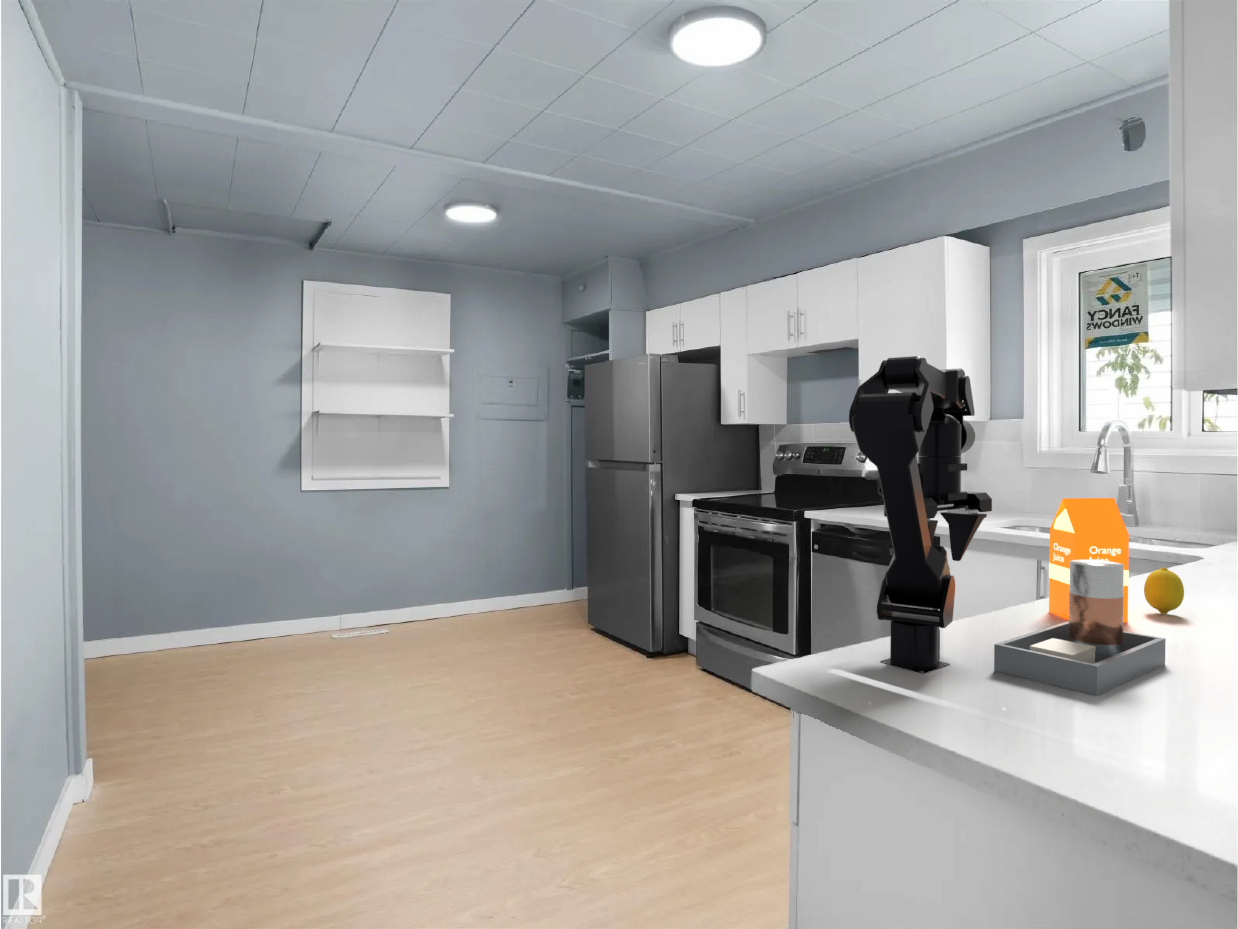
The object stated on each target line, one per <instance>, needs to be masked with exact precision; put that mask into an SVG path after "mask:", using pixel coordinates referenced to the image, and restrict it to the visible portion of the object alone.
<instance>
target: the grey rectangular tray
mask: <svg viewBox="0 0 1238 929" xmlns="http://www.w3.org/2000/svg"><path fill="white" fill-rule="evenodd" d="M1052 638H1055V639H1060V640H1065V641H1069V620H1067V621H1064V622H1060V623H1058V624H1055V625H1051V626H1048V627H1045V628H1041V629H1038V630H1035V631H1032V632H1029V633H1026V634H1023V635H1019V636H1017V637H1012V638H1009V639H1006V640H1004V641H1000V642H997V643H994V646H993V647H994V648H993V650H994V651H993V652H994V653H993V654H994V657H993V658H994V660H993V661H994V662H993V664H994V665H993V666H994V668H993V672H997V673H1001V674H1006V675H1008V676H1012V677H1013V676H1014V677H1017V678H1021V679H1026V680H1030V681H1033V682H1036V683H1037V682H1038V683H1042V684H1046V685H1050V686H1054V687H1058V688H1062V689H1067V690H1069V691H1074V692H1078V693H1083V694H1086V695H1091V696H1095V697H1098V696H1100V695H1103V694H1105V693H1108V692H1109V691H1111V690H1113V689H1115V688H1118V687H1120V686H1122V685H1124V684H1126V683H1129V682H1131V681H1133V680H1136V679H1138V678H1140V677H1142V676H1144V675H1146V674H1149V673H1151V672H1153V671H1155V670H1157V669H1159V668H1161V667H1164V666H1166V641H1167V640H1166V638H1164V637H1158V636H1154V635H1149V634H1142V633H1135V632H1131V631H1124V630H1123V646H1122V653H1119V654H1117V655H1114V656H1112V657H1109V658H1107V659H1104V660H1102V661H1099V662H1097V663H1094V664H1091V663H1087V662H1082V661H1078V660H1073V659H1068V658H1064V657H1059V656H1054V655H1050V654H1045V653H1040V652H1036V651H1031V650H1030V646H1031V645H1034V644H1037V643H1040V642H1043V641H1046V640H1049V639H1052Z"/></svg>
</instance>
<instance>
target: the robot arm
mask: <svg viewBox="0 0 1238 929" xmlns="http://www.w3.org/2000/svg"><path fill="white" fill-rule="evenodd" d="M891 390H895V391H897V392H889V391H891ZM974 404H975V403H974V398H973V392H972V386H971V379H970V376H969V375H966V372H965V370H964V369H963V368H962V367H961V368H944V369H939V368H938V367H936V366H934V365H932V364H931V363H929V362H928V361H927V359H926V358H925V357H921V356H920V355H916V356H915V355H914V356H912V355H911V356H901V357H900V356H899V357H898V356H897V357H888V358H887V359H885V360H882V361H881V363H880V365H879V368H878V371H877V372H876V373H874V374H873V375H872V376H870V377H869V378H868V379H867V380H865V381H864V382H863V383H862V384H860V385H859V386H858V388H857V389H856V393H855V395H854V398H853V400H852V403H851V405H850V408H849V411H848V412H849V414H848V423H849V428H850V430H851V432H852V434H853V433H854V437H855V440H856V444H857V448H858V450H859V452H860V453H861V454H862V455H863V456H865V457H866V458H867V459H868V460H869V461H870V462H871V463H872V464H873V465H874V466H876V468H877V474H878V479H877V480H878V481H877V491H876V492H877V495H879V496H881V497H882V499H883V517H886V519H887V520H886V521H887V523H888V529H889V534H890V535H889V536H890V540H891V543H892V544H891V545H892V550H893V555H892V556H891V560H890V563H889V566H888V567H887V570H886V572H885V575H884V578H883V579H882V581H881V584H880V585H881V586H880V590H879V594H878V600H877V605H876V615H877V620H879V621H890V646H889V647H890V651H889V652H890V655H889V656H890V657H889V658H886V659H883V660H880V663H882V664H885V665H889V666H893V667H896V668H899V669H900V668H901V669H904V670H908V671H912V672H914V673H919V674H926V673H930V672H934V671H937V670H939V669H943V668H945V667H946V668H947V667H949V666H951V664H950V663H948V662H944V661H940V657H941V656H940V655H941V654H940V652H941V641H940V640H941V630H940V629H946V628H948V626H949V625H951V624H952V622H953V620H954V608H955V595H956V580H955V579H956V578H955V576H954V575H951V570H950V569H951V568H950V566H949V560H948V553H947V550H946V548H945V547H944V546H943V545H932V544H933V541H934V538H935V533H936V531H937V526H938V523H939V522H938V520H937V519H935V517H936V516H937V514H938V512H939V514H940V515H941V516H942V518H943V519H944V520H945V522H946V523H947V525H948V533H949V544H950V546H949V547H950V553H951V554H950V555H951V558H952V560H953V561H955V562H960V561H961V560H962V559H963V556H965V555H964V554H965V553H966V551H967V550H968V547H969V545H970V543H971V541H972V540H973V538H974V536H975V534H976V532H977V531H978V529H979V528H980V526H981V524H982V523H983V521H984V519H985V518H987V516H988V514H987V512H993V499H992V497H991V496H990V495H989V494H988V492H983V491H981V492H980V491H963V490H962V472H964V471H968V463H962V454H964V453H966V452H968V451H969V450H970V449H971V448H972V447H973V445H974V444H975V440H976V432H975V430H974V427H973V426H972V424H971V423H970V422H969V421H967V420H966V419H964V417H969V416H970V417H974V416H975V414H976V413H975V406H974ZM917 455H918V458H917Z"/></svg>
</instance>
